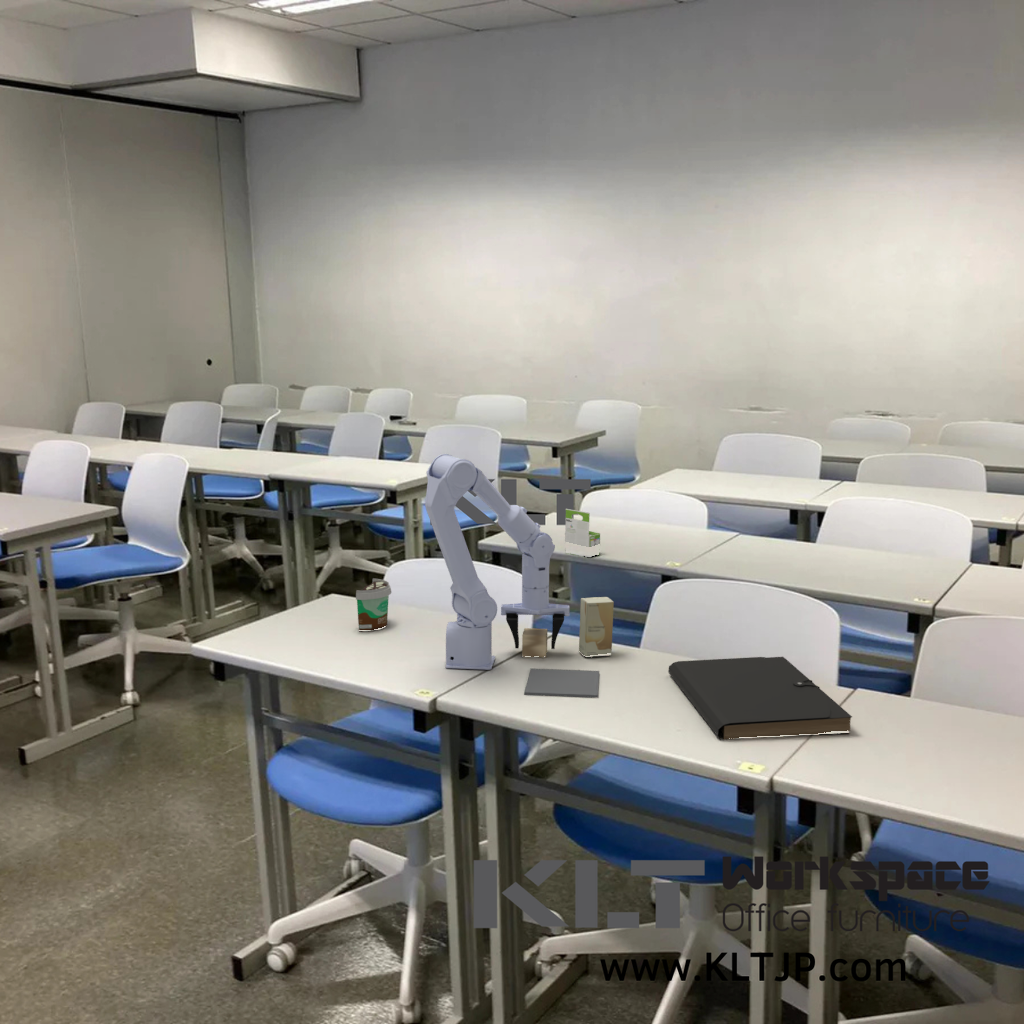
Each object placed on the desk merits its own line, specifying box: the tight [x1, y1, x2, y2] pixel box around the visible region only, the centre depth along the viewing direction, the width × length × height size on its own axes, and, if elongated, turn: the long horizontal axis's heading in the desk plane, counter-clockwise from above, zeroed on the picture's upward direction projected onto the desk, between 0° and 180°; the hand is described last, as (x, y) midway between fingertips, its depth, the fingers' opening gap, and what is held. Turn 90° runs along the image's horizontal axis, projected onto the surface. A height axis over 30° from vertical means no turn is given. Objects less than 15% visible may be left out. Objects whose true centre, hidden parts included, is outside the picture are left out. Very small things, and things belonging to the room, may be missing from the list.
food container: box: [355, 578, 392, 631], centre depth 242 cm, size 12×6×10 cm, turn 168°
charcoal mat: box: [523, 667, 600, 698], centre depth 205 cm, size 14×14×1 cm
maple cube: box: [521, 627, 549, 658], centre depth 223 cm, size 5×5×5 cm
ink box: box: [564, 508, 601, 547], centre depth 318 cm, size 10×5×14 cm, turn 43°
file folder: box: [667, 656, 853, 740], centre depth 196 cm, size 33×4×24 cm
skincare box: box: [578, 596, 615, 656], centre depth 222 cm, size 6×4×12 cm
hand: (535, 647), depth 224 cm, fingers open, 7 cm apart
